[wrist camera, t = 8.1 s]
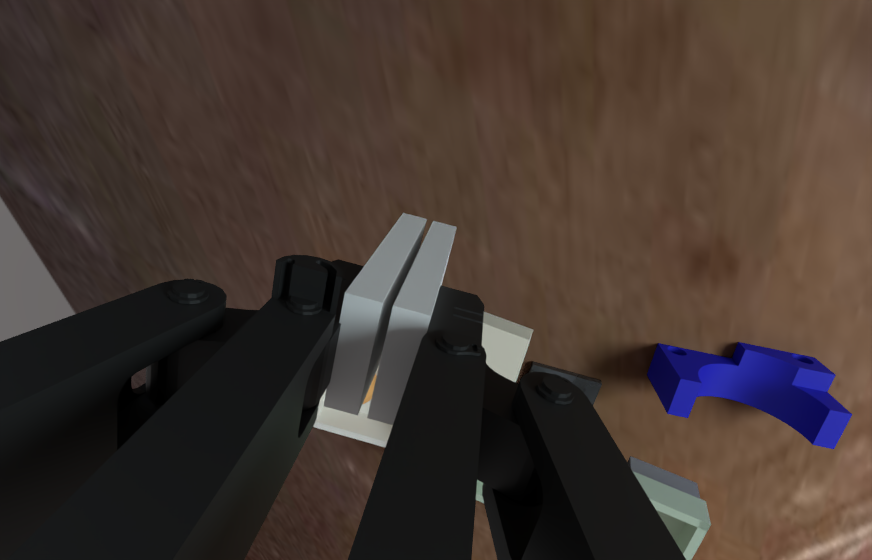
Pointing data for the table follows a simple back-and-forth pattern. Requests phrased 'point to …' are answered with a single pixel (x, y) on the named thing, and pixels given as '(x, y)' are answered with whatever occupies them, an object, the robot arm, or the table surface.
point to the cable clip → (753, 386)
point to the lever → (663, 488)
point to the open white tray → (353, 423)
